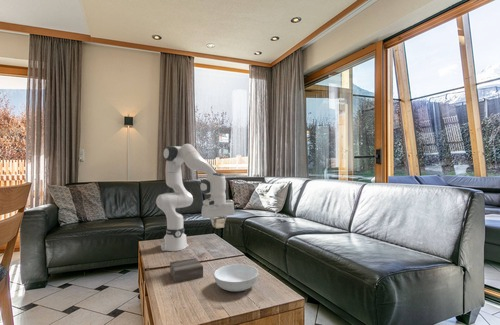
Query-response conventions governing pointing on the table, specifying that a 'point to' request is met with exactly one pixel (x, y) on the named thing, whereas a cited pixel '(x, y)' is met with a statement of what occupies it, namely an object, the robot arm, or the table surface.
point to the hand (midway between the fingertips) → (218, 224)
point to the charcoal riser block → (186, 270)
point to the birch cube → (218, 222)
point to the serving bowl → (236, 277)
